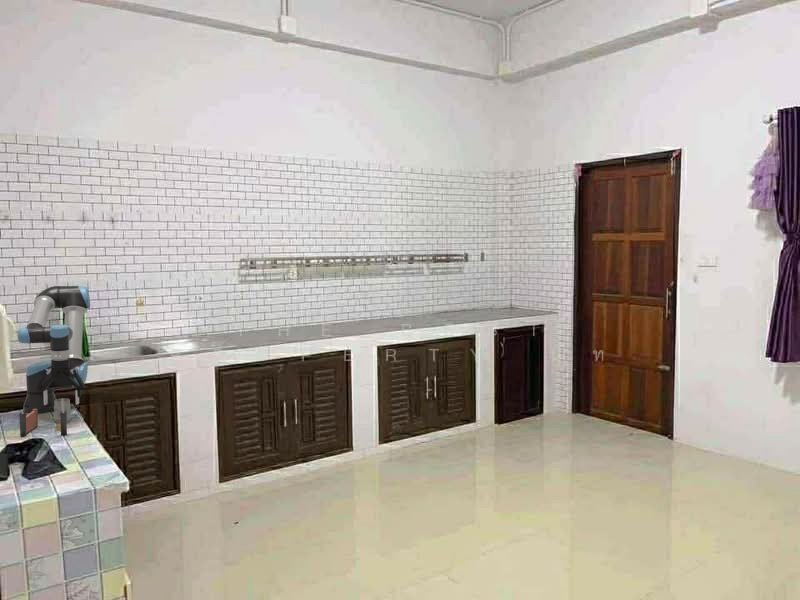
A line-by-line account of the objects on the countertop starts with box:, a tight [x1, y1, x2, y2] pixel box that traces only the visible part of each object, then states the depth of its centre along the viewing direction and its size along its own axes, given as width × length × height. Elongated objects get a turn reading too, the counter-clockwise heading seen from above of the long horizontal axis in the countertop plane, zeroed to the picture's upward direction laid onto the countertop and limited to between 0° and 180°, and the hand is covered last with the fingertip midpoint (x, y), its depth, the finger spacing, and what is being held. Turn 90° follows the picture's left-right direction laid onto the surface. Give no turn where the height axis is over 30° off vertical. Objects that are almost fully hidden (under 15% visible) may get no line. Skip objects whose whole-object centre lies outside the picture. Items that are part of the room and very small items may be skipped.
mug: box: [53, 397, 73, 424], centre depth 303 cm, size 8×12×12 cm, turn 29°
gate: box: [26, 409, 39, 434], centre depth 288 cm, size 13×2×8 cm, turn 10°
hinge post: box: [18, 411, 28, 438], centre depth 280 cm, size 3×3×11 cm
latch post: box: [55, 411, 68, 437], centre depth 283 cm, size 4×4×11 cm
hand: (61, 404), depth 303 cm, fingers open, 13 cm apart
